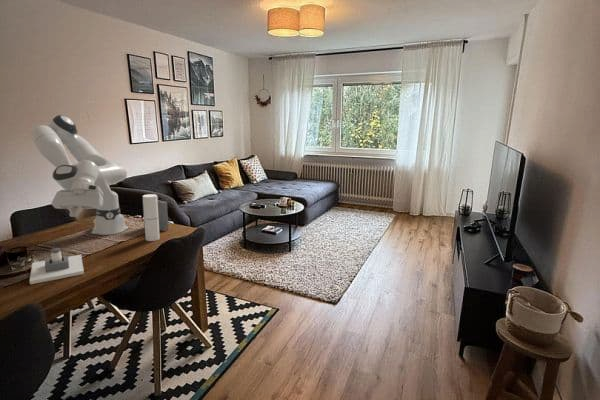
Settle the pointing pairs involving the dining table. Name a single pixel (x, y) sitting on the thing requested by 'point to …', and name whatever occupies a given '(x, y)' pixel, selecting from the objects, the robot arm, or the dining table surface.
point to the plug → (56, 255)
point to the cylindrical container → (151, 217)
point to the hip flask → (162, 215)
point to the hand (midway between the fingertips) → (73, 216)
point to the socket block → (56, 269)
